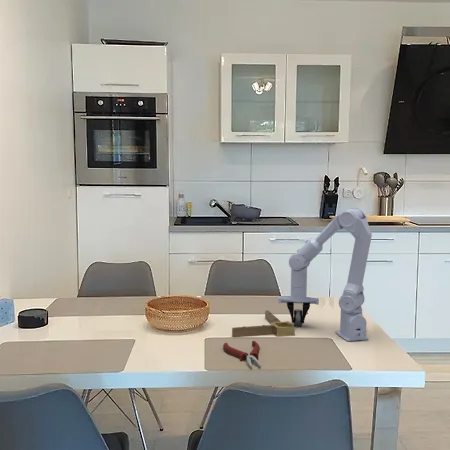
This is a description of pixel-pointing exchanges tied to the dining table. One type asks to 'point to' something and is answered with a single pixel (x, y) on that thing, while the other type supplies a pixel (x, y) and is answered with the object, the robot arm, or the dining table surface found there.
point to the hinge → (266, 328)
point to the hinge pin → (297, 318)
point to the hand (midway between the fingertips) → (297, 322)
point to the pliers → (245, 354)
